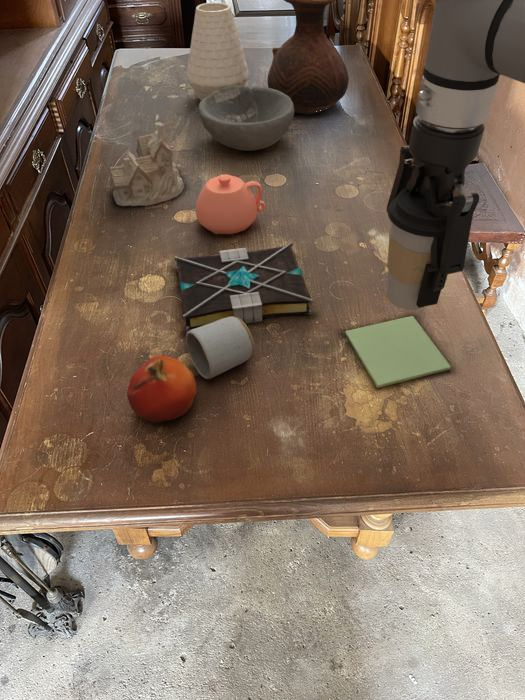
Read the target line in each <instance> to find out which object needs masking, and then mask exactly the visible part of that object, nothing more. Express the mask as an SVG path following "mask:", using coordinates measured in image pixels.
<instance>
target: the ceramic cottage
mask: <svg viewBox="0 0 525 700" xmlns="http://www.w3.org/2000/svg"><path fill="white" fill-rule="evenodd" d="M167 139H168V138H167V135H166V133H165V125H164V123H162V122H161V121H156V122H154V124H153V133H150V134H146V135H140V136H137V137H136V141H137V144H136V149H135V151H136V153H137V157H136V156H135V155H134V154H133V153H131V151H130V150H127V151H126V154H125V157H124V158H123V159H122V164H121V165H119V166H110V168H109V175H110V179H109V182H110V186H111V187H112V188H114V190H113V191H112V197H113V198H114V202H115V204H116V205H117V206H121V207H126V206H127V207H137V206H138V207H140V206H141V207H147V206H153V205H156V204H160V203H162V202H163V203H164V202H168V201H170V200H172V199H174V198H176V197H179V196H180V194H181V193H182V192H183V191H184V188H185V184H184V180H183V178H182V177H181V175H180V171H179V170H178V164H176V163H174V161H173V155H174V152H173V151H172V150H171V149H170V146H169V145H168V140H167Z"/></svg>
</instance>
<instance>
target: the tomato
mask: <svg viewBox="0 0 525 700" xmlns="http://www.w3.org/2000/svg"><path fill="white" fill-rule="evenodd" d="M197 392H198V391H197V382H196V379H195V376H194V374H193V372H192V371H191V370H190V368H188V367H187V366H186V364H184V362H182V361H181V360H179V359H177V358H174V357H171V356H166V355H156V356H153V357H151V358H149V359H148V360H147V361H146V362H144V364H141V366H140V367H139V368H138V369H137V370H136V371H135V372H134V373H133V375H131V377H130V380H129V385H128V387H127V390H126V396H127V400H128V403H129V406H130V408H131V409H132V411H133V412H134V413H135V414H136V415H137V416H138V417H140V418H141V419H143V420H146V421H147V422H153V423H161V422H164V421H165V422H166V421H173V420H175V419H178V418H180V417H181V416H183V415H184V414H186V413H187V412H188V411H189V410H190V408H191V407H192V405H193V403H194V399H195V397H196V396H197V395H196V394H197Z"/></svg>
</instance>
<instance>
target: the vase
mask: <svg viewBox="0 0 525 700" xmlns="http://www.w3.org/2000/svg"><path fill="white" fill-rule="evenodd" d="M190 40H191V41H190V47H189V54H188V59H187V60H188V61H187V67H186V74H185V76H186V80H187V82H188V84H189V85H190V87H191V89H192V90H193V92H194V93H195V95H196V97H197V98H198V100H199V99H200V100H203V99H204V98H206V97H208V96H209V95H211V94H212V93H213V92H215V91H217V90H219V89H221V88H227V87H230V86H246V85H247V83H248V80H249V78H250V71H249V70H250V69H249V67H248V62H247V60H246V56H245V52H244V50H243V45H242V42H241V38H240V36H239V31H238V28H237V25H236V21H235V18H234V15H233V11H232V7H231V5H230V4H229V3H225V2H205V3H201V4H198V5H197V6H196V7H195V13H194V20H193V27H192V33H191V39H190ZM200 100H199V101H200Z"/></svg>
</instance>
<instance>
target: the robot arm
mask: <svg viewBox="0 0 525 700" xmlns="http://www.w3.org/2000/svg"><path fill="white" fill-rule="evenodd" d="M500 76H503V77H506V78H508V79H511V80H514V81H516V82H519V83H523V84H525V0H434V6H433V12H432V20H431V26H430V32H429V39H428V45H427V50H426V56H425V61H424V64H423V70H422V77H421V82H420V87H419V91H418V93H417V102H416V107H415V113H416V116H415V117H414V119H413V120H412V126H411V131H410V137H409V141H408V142H409V143H408V145H404V146H401V147H400V149H399V161H398V167H397V169H396V173H395V177H394V180H393V184H392V187H391V192H390V195H389V197H388V201H387V205H386V212H387V214H388V209H389V207H390V204H391V202H392V201H393V199H395V198H396V197H397V196H398V194H399V193H400V192H401V191H402V190H404V189H406V188H407V189H408V191H409V193H410V195H417V194H421V195H423V196H425V198H426V199H427V212H428V213H429V214H432V215H433V216H435V217H436V218H440V217H445V216H447V223H446V230H445V236H444V237H434V239H433V242H432V245H431V264H427V265H426V267H425V271H424V275H423V279H422V283H421V287H420V291H419V295H418V299H417V303H416V305H417V306H418V307H419V308H420V309H422V308H421V307H423V308H426V307H430V306H433V305H438V302H439V298H440V296H441V292H442V290H443V289H444V288H445V285H446V281H447V278H448V276H449V275H452V274H456V273H461V272H463V271H464V267H465V264H466V263H465V262H466V257H467V252H468V251H467V250H468V245H469V239H470V233H471V227H472V224H473V223H472V222H473V217H474V213H475V211H476V209H477V206H478V204H479V202H480V195H479V193H478V192H469V191H468V189H467V188H466V187H465V181H466V180H465V179H466V178H465V176H466V175H465V174H466V169H467V168H468V166H470V164H471V163H472V162H473V161H474V160H476V158H477V156H478V153H479V149H480V148H481V143H482V140H483V136H484V133H485V129H486V128H485V127H486V126H485V123H486V122H487V121H488V119H489V117H490V114H491V110H492V105H493V101H494V99H495V94H496V92H497V87H498V85H499V84H498V83H499V79H500ZM447 201H449V202H448V204H444V205H439V206H436V204H439V203H444V202H447ZM438 228H442V226H440V225H438V224H437V223H436V229H438ZM440 259H441V260H440ZM387 265H388V261H387V263H386V268H388V266H387Z"/></svg>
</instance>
